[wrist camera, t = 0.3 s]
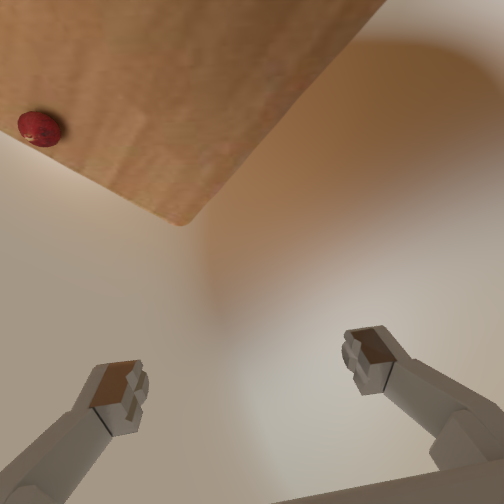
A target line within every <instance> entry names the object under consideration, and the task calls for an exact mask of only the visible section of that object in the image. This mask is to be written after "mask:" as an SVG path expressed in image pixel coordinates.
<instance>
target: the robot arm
mask: <svg viewBox="0 0 504 504" xmlns="http://www.w3.org/2000/svg"><path fill="white" fill-rule="evenodd" d="M344 338H345V340H346V341H345V342H344V344H343V345H342V356H343V360H344V362H345V364H346V366H347V368H348V369H349V370H350V371H352V372H353V373H354V377H353V380H354V381H355V383H356V385H357V387H358V389H359V391H360V393H361V395H370V394H377V393H384V395H385V396H386V397H388V398H389V399H390V400H391V401H392V402H394V403H395V404H396V405H397V406H398V407H400V408H401V409H402V410H403V411H404V412H405V413H407V414H408V415H409V416H410V417H412V418H413V419H414V420H415V421H416V422H417V423H418V424H420V425H421V426H422V427H423V428H425V429H426V430H427V431H428V432H429V433H430V434H432V435H433V436H434V437H435V438H436V440H435V441H434V443H433V445H432V446H431V448H430V451H429V454H430V455H431V457H432V459H433V460H434V462H435V464H436V465H437V467H438V468H439V470H440V471H437V472H432V473H427V474H421V475H416V476H411V477H406V478H401V479H396V480H390V481H385V482H380V483H375V484H370V485H365V486H360V487H355V488H349V489H344V490H339V491H334V492H329V493H324V494H319V495H313V496H308V497H303V498H298V499H293V500H288V501H282V502H277V503H272V504H504V412H503V411H502V410H501V409H500V408H499V407H498V406H497V405H496V404H495V403H493V402H492V401H490V400H488V399H486V398H485V397H483V396H481V395H479V394H477V393H476V392H474V391H472V390H470V389H469V388H467V387H465V386H463V385H462V384H460V383H458V382H456V381H455V380H453V379H451V378H449V377H447V376H446V375H444V374H442V373H440V372H439V371H437V370H435V369H433V368H431V367H430V366H428V365H426V364H424V363H422V362H421V361H419V360H417V359H411V357H410V356H409V355H408V354H407V353H406V351H405V350H404V349H403V348H402V347H401V346H400V344H399V343H398V342H397V341H396V339H395V338H394V337H393V336H392V334H391V333H390V332H389V331H388V330H387V329H386V327H384V326H382V325H381V326H374V327H366V328H359V329H353V330H347V331H346V332H345V334H344ZM142 367H143V364H142V362H141V360H133V361H124V362H116V363H107V364H100V365H96V367H94V368H93V370H92V372H91V374H90V375H89V377H88V379H87V381H86V383H85V385H84V387H83V389H82V391H81V393H80V394H79V397H78V398H77V400H76V402H75V404H74V406H73V408H72V410H71V411H69V412H66V413H65V414H63V415H62V416H61V417H60V418H59V419H58V420H57V421H56V422H55V423H54V424H52V425H51V426H50V427H49V428H48V429H47V430H46V431H45V432H44V433H43V434H42V435H40V436H39V437H38V438H37V439H36V440H35V441H34V442H33V443H32V444H31V445H29V446H28V447H27V448H26V449H25V450H24V451H23V452H22V453H21V454H20V455H19V456H17V457H16V458H15V459H14V460H13V461H12V462H11V463H10V464H9V465H8V466H6V467H5V468H4V469H3V470H2V471H1V472H0V504H64V503H65V502H66V500H67V499H68V498H69V496H70V495H71V494H72V492H73V491H74V490H75V488H76V487H77V486H78V484H79V483H80V481H81V480H82V479H83V477H84V476H85V475H86V473H87V472H88V471H89V470H90V468H91V467H92V465H93V464H94V463H95V461H96V460H97V459H98V457H99V456H100V455H101V453H102V452H103V451H104V449H105V448H106V446H107V445H108V444H109V442H110V441H111V440H112V437H114V436H120V435H125V434H130V433H135V432H138V428H139V425H140V421H141V417H142V414H143V411H142V409H141V405H142V404H143V402H144V401H145V400H146V399H147V394H148V388H149V380H148V376H147V373H146V372H144V371H142Z"/></svg>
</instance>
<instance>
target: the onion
mask: <svg viewBox="0 0 504 504" xmlns="http://www.w3.org/2000/svg"><path fill="white" fill-rule="evenodd" d="M18 128H19V131H20V133H21V135H22V136H23V137H24V138H25V139H26V140H27V141H29V142H30V143H32V144H33V145H36V146H39V147H50V146H54V145H56V144H57V143H58V141H59V140H60V138H61V131H60V129H59V126H58V124H57V123H56V122H55V121H54V120H53V119H52V118H50V117H49V116H47V115H45V114H42V113H40V112H33V111H30V112H27V113H24V114H22V115H21V116H20V117H19V120H18Z"/></svg>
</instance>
